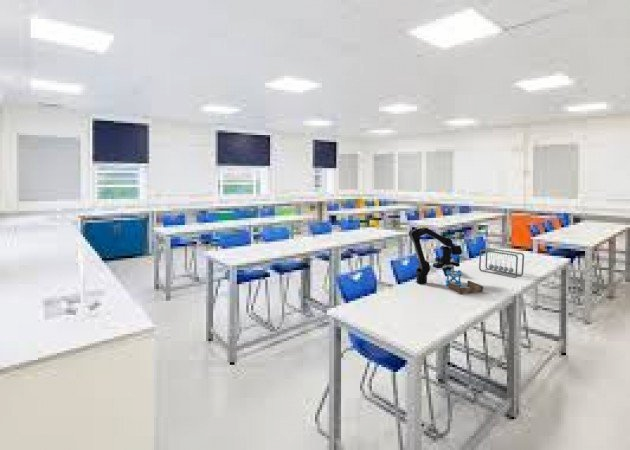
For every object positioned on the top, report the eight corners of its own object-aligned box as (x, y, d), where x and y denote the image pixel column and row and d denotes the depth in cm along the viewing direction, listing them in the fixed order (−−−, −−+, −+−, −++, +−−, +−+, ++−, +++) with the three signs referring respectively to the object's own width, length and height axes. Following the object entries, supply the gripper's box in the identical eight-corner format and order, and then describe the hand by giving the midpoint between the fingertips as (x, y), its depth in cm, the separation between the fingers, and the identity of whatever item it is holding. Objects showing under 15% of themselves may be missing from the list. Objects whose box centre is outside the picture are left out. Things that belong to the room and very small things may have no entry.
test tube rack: (457, 276, 285) (457, 259, 284) (451, 276, 285) (451, 259, 284) (445, 269, 310) (445, 253, 308) (440, 269, 310) (440, 253, 308)
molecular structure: (460, 283, 266) (461, 269, 265) (461, 287, 256) (462, 273, 255) (445, 282, 269) (446, 269, 268) (446, 286, 259) (446, 272, 258)
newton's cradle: (523, 276, 284) (524, 253, 282) (516, 278, 278) (517, 254, 276) (485, 268, 308) (486, 247, 306) (478, 270, 302) (479, 249, 300)
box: (461, 294, 241) (461, 288, 241) (448, 288, 255) (448, 282, 255) (482, 292, 246) (483, 286, 245) (468, 286, 259) (468, 280, 259)
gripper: (450, 252, 279) (450, 272, 281) (428, 253, 274) (428, 274, 276) (460, 255, 268) (459, 276, 270) (437, 256, 263) (437, 278, 265)
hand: (445, 276), depth 271 cm, fingers closed
